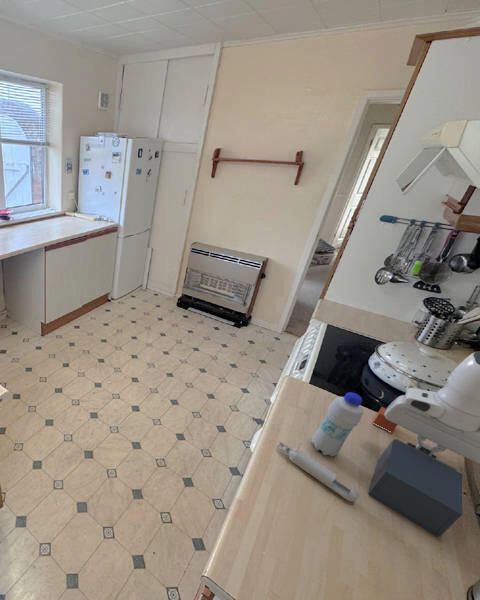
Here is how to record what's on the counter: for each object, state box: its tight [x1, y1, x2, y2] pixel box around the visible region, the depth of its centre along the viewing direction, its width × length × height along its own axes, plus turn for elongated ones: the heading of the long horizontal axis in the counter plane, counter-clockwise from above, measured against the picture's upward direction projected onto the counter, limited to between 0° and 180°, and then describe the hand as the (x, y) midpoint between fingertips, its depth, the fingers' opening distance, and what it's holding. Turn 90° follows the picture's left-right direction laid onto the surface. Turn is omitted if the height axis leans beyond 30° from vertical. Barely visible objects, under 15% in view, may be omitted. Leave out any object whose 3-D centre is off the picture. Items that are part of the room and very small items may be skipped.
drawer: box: [394, 438, 458, 472], centre depth 81 cm, size 18×11×7 cm, turn 132°
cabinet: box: [367, 439, 463, 538], centre depth 77 cm, size 15×13×9 cm
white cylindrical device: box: [277, 441, 360, 502], centre depth 81 cm, size 18×5×7 cm, turn 38°
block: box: [373, 406, 398, 433], centre depth 99 cm, size 5×5×5 cm
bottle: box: [311, 391, 364, 457], centre depth 86 cm, size 7×7×20 cm
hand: (423, 451), depth 84 cm, fingers closed
